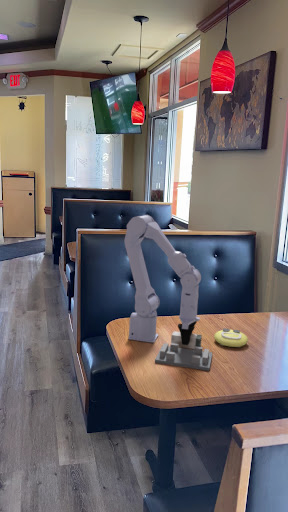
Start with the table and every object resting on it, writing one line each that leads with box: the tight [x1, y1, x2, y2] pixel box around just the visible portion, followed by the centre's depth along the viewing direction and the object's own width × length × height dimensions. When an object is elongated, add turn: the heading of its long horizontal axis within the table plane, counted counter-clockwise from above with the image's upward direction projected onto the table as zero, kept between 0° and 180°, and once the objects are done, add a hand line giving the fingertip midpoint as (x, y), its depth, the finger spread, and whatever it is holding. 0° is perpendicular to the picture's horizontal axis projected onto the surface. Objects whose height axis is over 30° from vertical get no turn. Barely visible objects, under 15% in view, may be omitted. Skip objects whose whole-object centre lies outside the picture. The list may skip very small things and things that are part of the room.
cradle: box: [154, 342, 213, 372], centre depth 136 cm, size 17×12×3 cm
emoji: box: [213, 328, 249, 348], centre depth 152 cm, size 4×12×12 cm
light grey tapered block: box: [170, 330, 202, 350], centre depth 147 cm, size 10×4×4 cm, turn 76°
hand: (186, 342), depth 147 cm, fingers closed on light grey tapered block, 4 cm apart
